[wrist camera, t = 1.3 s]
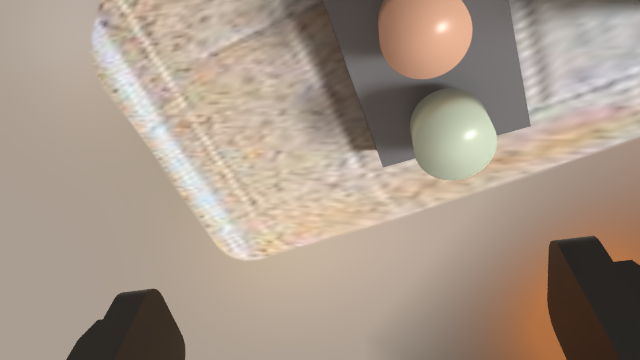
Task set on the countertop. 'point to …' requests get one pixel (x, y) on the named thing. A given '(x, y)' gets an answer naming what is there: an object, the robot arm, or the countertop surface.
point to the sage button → (452, 134)
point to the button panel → (405, 93)
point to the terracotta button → (424, 35)
